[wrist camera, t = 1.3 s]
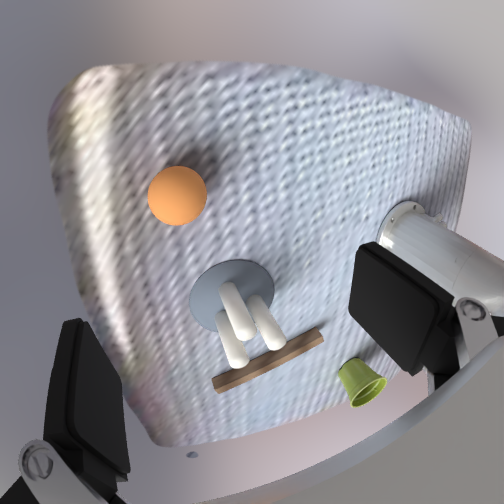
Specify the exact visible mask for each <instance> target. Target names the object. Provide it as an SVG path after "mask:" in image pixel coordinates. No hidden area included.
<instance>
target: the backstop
mask: <svg viewBox="0 0 504 504" xmlns="http://www.w3.org/2000/svg"><path fill="white" fill-rule="evenodd" d="M322 342H324V340H323V336H322V335H321V333H320V332H319V331H318V329H317V328H316V327H314V328H312V329H311V330H309V331H307V332H305V333H303V334H302V335H300V336H298V337H296V338H294V339H292V340H291V341H289V342H287V343H286V344H285V345H284V346H283V347H282V348H281V349H278V350H271V351H269V352H267V353H265V354H263V355H261V356H259V357H257V358H255V359H253V360H251V361H249V363H248V364H247V365H246V366H244V367H242V368H237V369H236V368H234V369H232V370H230V371H228V372H226V373H224V374H221V375H219V376H217V377H215V378H212V382H213V386H214V389H215V391H216V392H217V393H218V394H220V393H222V392H225V391H227V390H229V389H231V388H234V387H236V386H238V385H240V384H242V383H245V382H247V381H249V380H251V379H253V378H255V377H257V376H259V375H262V374H264V373H266V372H268V371H270V370H272V369H274V368H276V367H278V366H280V365H281V364H283V363H285V362H287V361H289V360H291V359H293V358H295V357H297V356H299V355H300V354H302V353H304V352H306V351H308V350H310V349H311V348H313V347H315V346H317V345H318V344H320V343H322Z"/></svg>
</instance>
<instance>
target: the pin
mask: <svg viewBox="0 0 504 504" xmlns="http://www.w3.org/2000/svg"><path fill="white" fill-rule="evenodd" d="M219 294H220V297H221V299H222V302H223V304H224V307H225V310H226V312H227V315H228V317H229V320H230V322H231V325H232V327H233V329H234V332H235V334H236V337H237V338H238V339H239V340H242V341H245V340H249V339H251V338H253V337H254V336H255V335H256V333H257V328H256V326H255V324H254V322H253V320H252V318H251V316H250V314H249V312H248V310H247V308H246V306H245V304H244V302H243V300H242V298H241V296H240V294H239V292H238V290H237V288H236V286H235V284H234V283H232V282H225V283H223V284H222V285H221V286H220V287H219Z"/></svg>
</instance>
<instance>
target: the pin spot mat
mask: <svg viewBox="0 0 504 504" xmlns="http://www.w3.org/2000/svg"><path fill="white" fill-rule="evenodd" d="M225 282H232V283H234V284H235V286H236V288H237V290H238V292H239V294H240V296H241V298H242V300H243V302H244V304H245V306H246V308H247V310H248V312H249V314H250V316H251V318H252V320H253V322H254V324H255V321H254V319H253V317H252V315H251V313H250V311H249V309H248V307H247V305H246V301H247V299H248V298H249V297H250V296H252V295H260V296H261V297H262V299H263V301H264V302H265V304H266V306H267V307H268V309H269V307H270V305H271V303H272V300H273V296H274V285H273V282H272V279H271V277H270V275H269V274H268V273H267V271H266V270H264V269H263V268H262V267H261V266H259V265H257V264H255V263H253V262H250V261H244V260H232V261H227V262H223V263H220V264H218V265H216V266H214V267H212V268H210V269H209V270H207V271H206V272H205V273H203V274H202V275H201V276H200V277H199V279H198V280H197V281H196V283H195V284H194V286H193V288H192V290H191V293H190V299H189V306H190V311H191V313H192V316H193V317H194V319H195V320H196V321H197V323H199V324H200V325H201V326H202V327H204V328H206V329H208V330H210V331H213V332H218V329H217V326H216V323H215V320H214V317H215V315H216V314H217V313H218V312H220V311H226V310H225V307H224V304H223V302H222V299H221V297H220V294H219V287H220V286H221V285H222V284H223V283H225ZM218 333H219V332H218Z"/></svg>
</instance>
